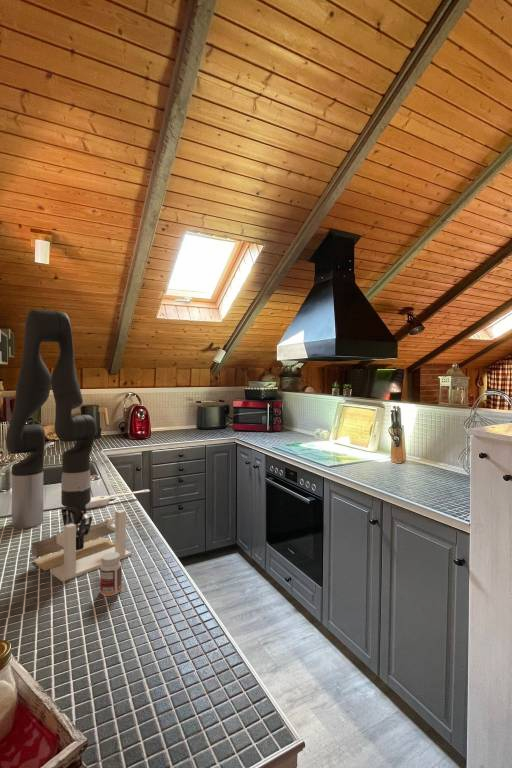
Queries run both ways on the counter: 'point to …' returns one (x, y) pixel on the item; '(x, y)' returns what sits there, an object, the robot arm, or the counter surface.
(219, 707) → the counter surface
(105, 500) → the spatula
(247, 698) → the counter surface
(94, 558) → the rack
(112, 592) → the pill bottle
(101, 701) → the counter surface
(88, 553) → the tray
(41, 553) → the rail
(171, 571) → the counter surface
